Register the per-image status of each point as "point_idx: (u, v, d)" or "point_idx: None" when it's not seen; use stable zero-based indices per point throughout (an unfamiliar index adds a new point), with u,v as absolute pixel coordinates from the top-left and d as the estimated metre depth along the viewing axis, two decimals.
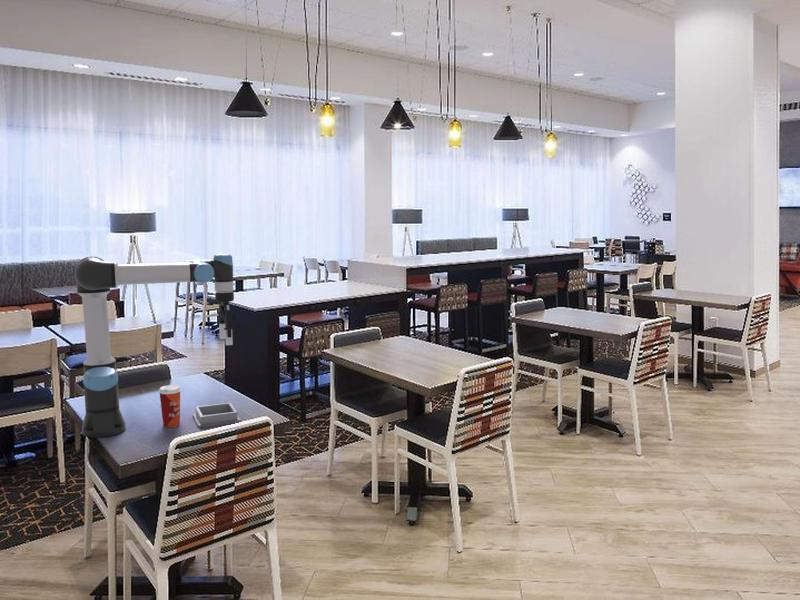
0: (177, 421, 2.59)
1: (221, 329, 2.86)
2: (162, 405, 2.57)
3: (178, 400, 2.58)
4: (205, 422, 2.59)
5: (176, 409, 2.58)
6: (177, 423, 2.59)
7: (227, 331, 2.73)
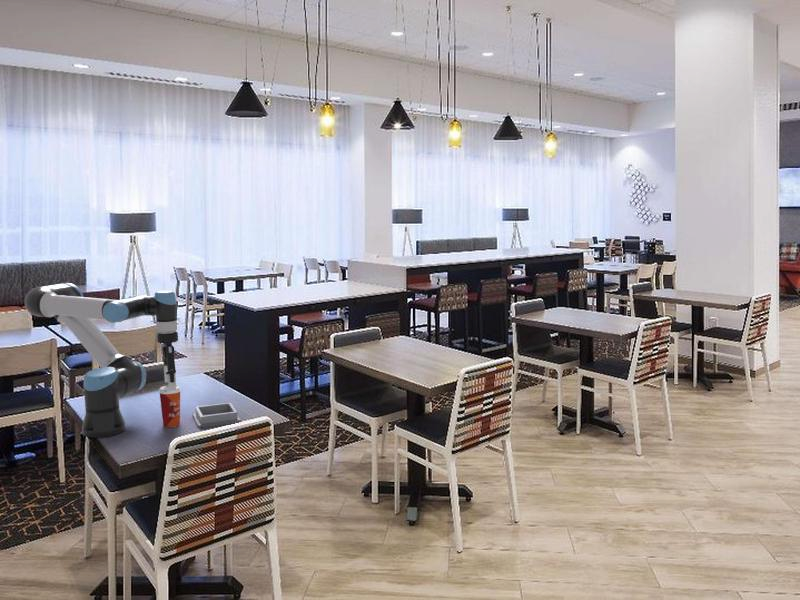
0: (177, 421, 2.59)
1: (166, 371, 2.63)
2: (162, 405, 2.57)
3: (178, 400, 2.58)
4: (205, 422, 2.59)
5: (176, 409, 2.58)
6: (177, 423, 2.59)
7: (169, 375, 2.50)
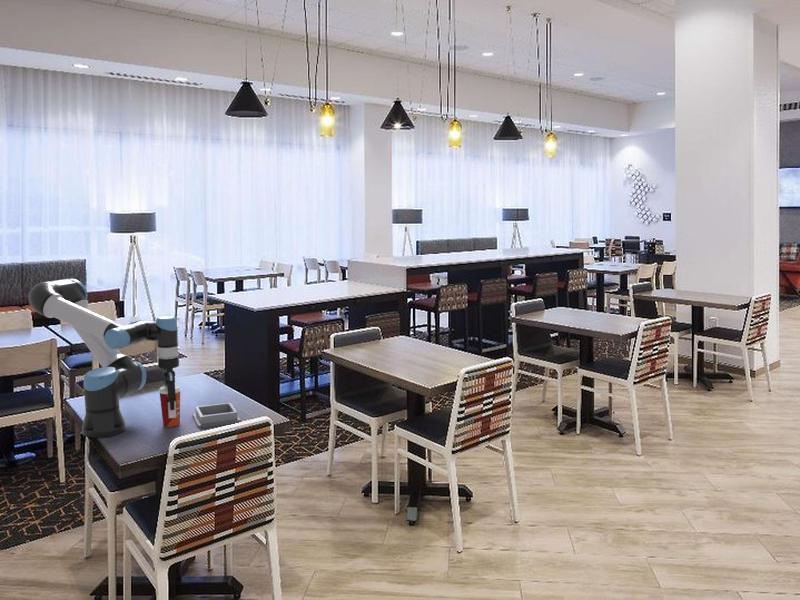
0: (177, 421, 2.59)
1: None
2: (162, 405, 2.57)
3: (178, 400, 2.58)
4: (205, 422, 2.59)
5: (176, 409, 2.58)
6: (177, 423, 2.59)
7: (170, 403, 2.54)
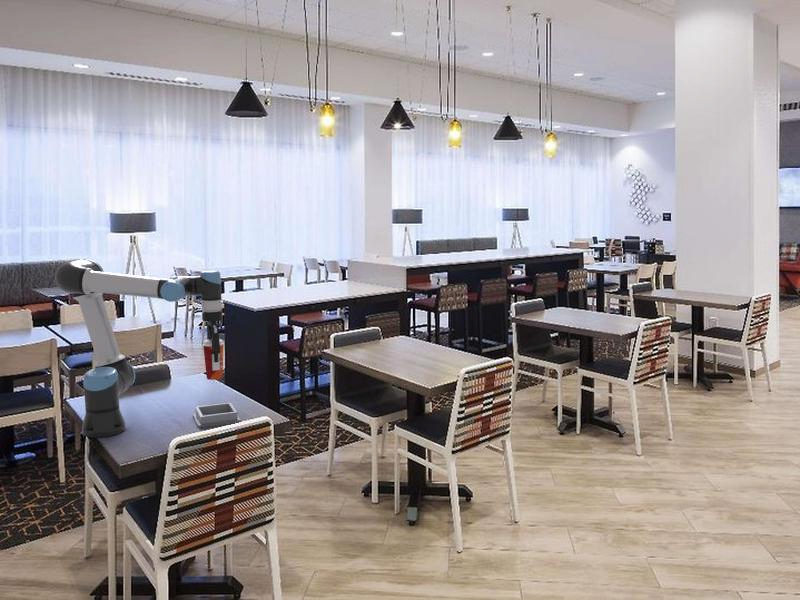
0: (220, 374, 2.64)
1: None
2: (206, 358, 2.61)
3: (221, 353, 2.63)
4: (205, 422, 2.59)
5: None
6: (220, 376, 2.64)
7: (214, 356, 2.59)
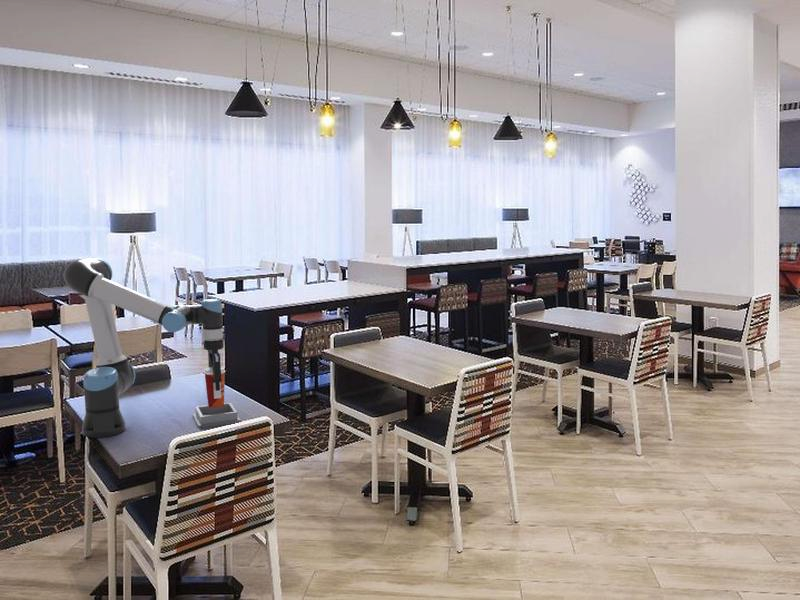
0: (222, 401, 2.65)
1: None
2: (207, 386, 2.63)
3: (223, 381, 2.64)
4: (205, 422, 2.59)
5: (221, 389, 2.64)
6: (222, 403, 2.65)
7: (215, 384, 2.60)
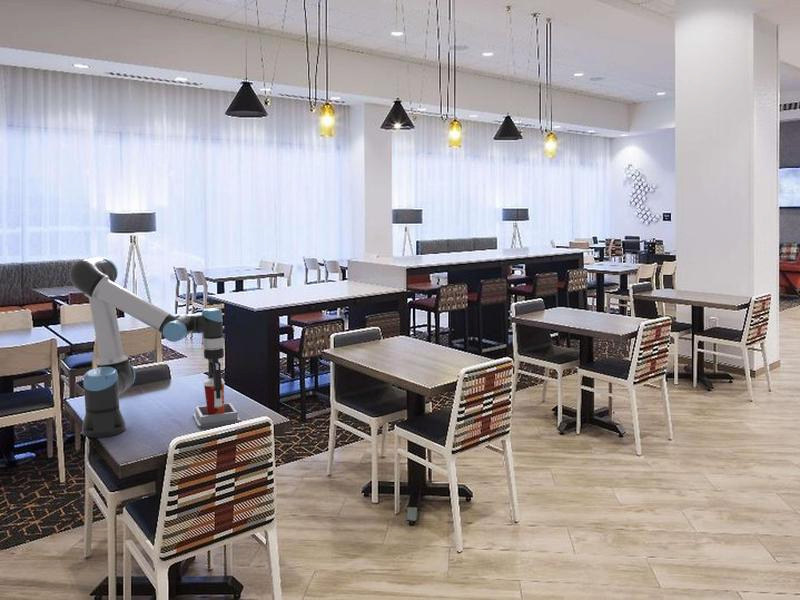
0: (222, 412, 2.66)
1: None
2: (207, 397, 2.64)
3: (222, 392, 2.65)
4: (205, 422, 2.59)
5: None
6: None
7: (216, 392, 2.59)
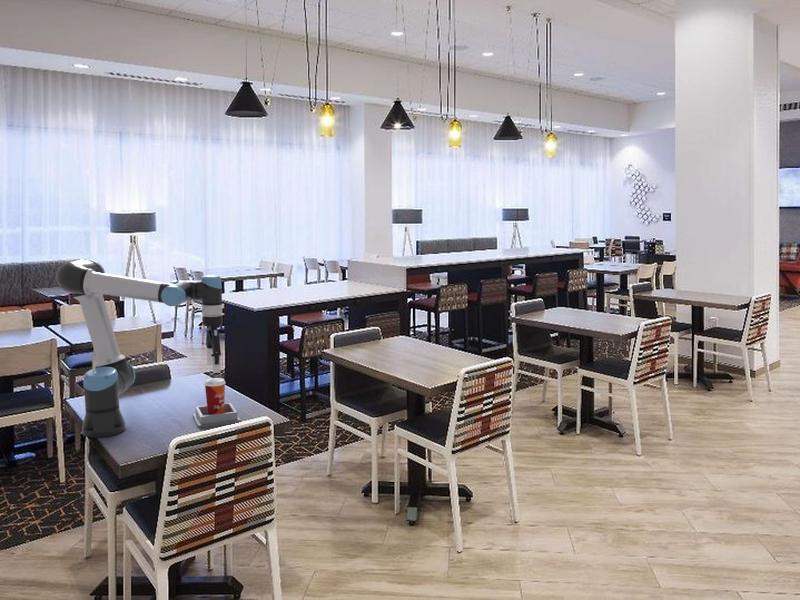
0: None
1: (209, 354, 2.70)
2: (208, 397, 2.64)
3: (223, 392, 2.65)
4: (205, 422, 2.59)
5: (221, 401, 2.65)
6: None
7: (214, 358, 2.57)
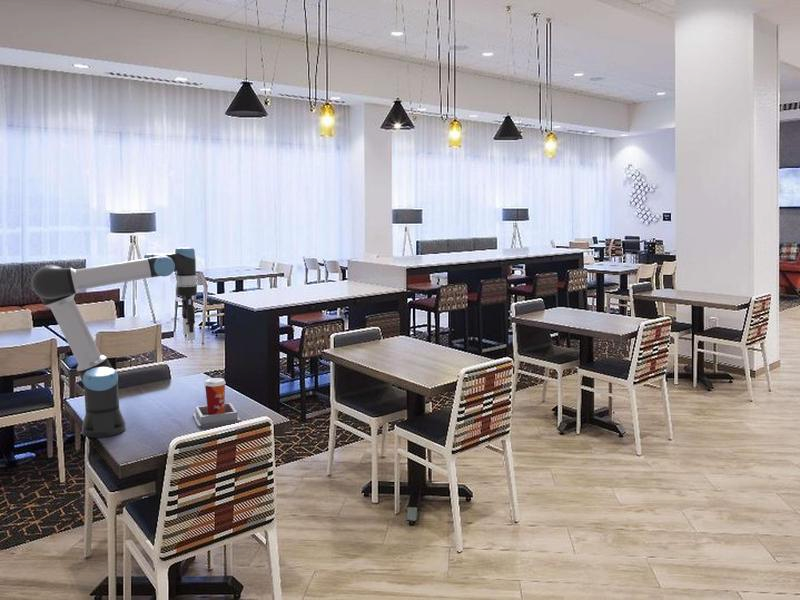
0: None
1: (185, 324, 2.81)
2: (208, 397, 2.64)
3: (223, 392, 2.65)
4: (205, 422, 2.59)
5: (221, 401, 2.65)
6: None
7: (189, 326, 2.68)
